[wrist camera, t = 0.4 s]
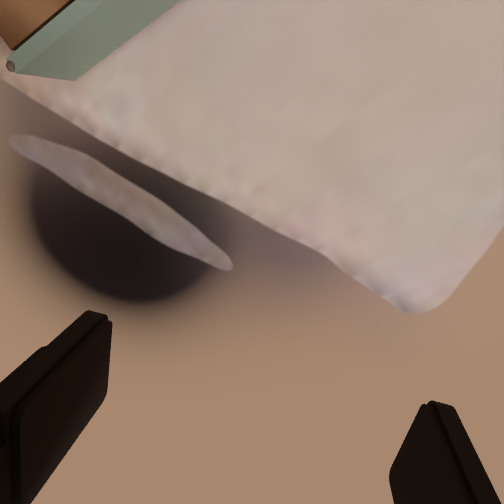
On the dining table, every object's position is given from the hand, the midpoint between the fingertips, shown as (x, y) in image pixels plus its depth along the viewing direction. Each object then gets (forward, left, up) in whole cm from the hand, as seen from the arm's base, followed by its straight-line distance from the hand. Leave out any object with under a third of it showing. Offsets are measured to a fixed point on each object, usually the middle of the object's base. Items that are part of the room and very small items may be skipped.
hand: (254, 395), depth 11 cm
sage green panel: (+3, -20, -29) cm, 36 cm away
